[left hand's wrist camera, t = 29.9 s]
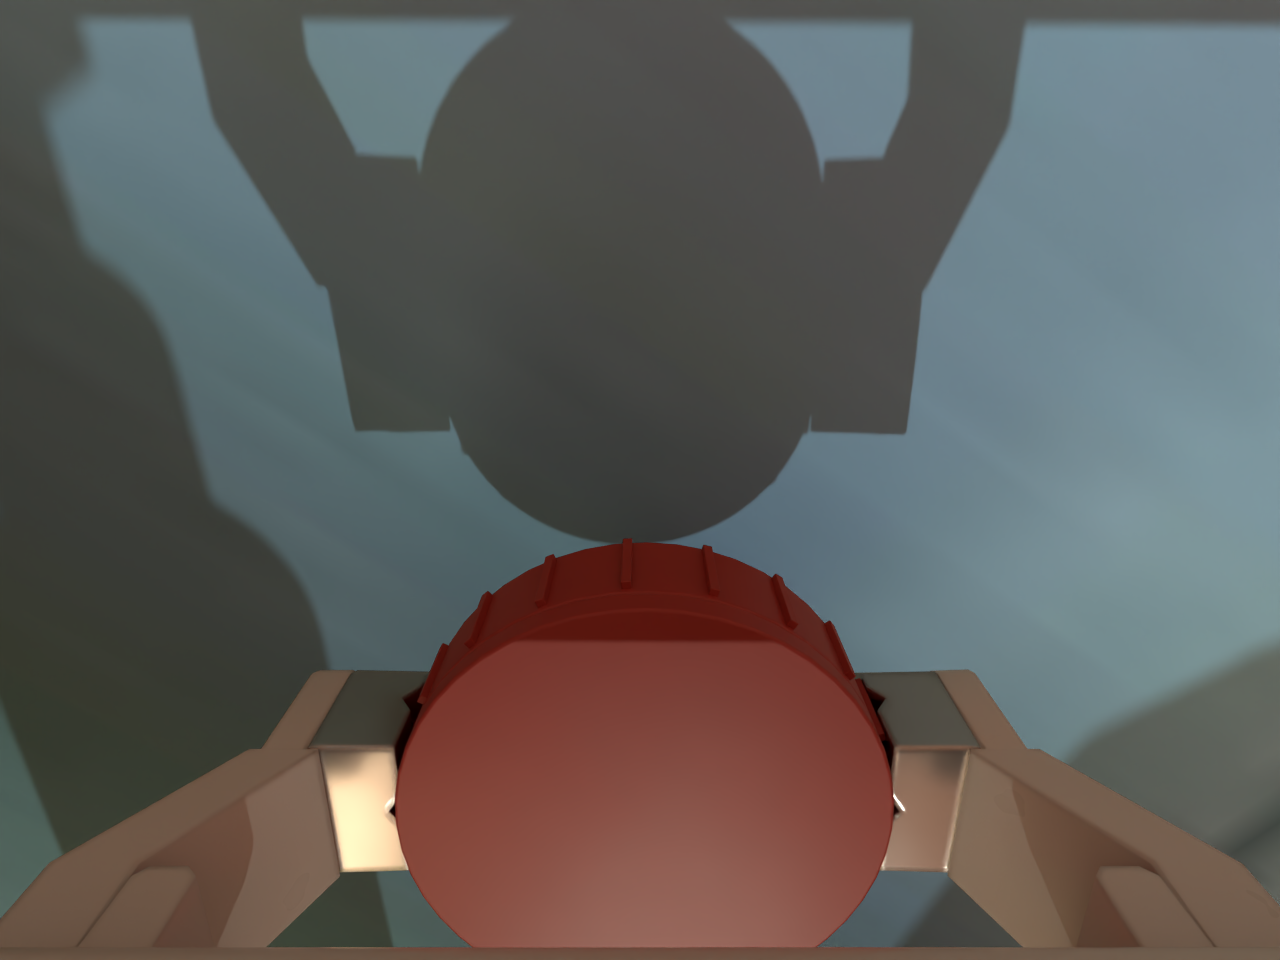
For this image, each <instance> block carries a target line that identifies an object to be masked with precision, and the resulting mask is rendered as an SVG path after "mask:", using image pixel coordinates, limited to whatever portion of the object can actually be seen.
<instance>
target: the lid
mask: <svg viewBox="0 0 1280 960" xmlns="http://www.w3.org/2000/svg"><path fill="white" fill-rule="evenodd" d="M855 677H856V675H855V673H854V671H853V668H852V666H851V664H850V661H849V659H848V657H847V654H846V652H845V650H844V647H843V645H842V643H841V641H840V638H839V636H838V634H837V631H836V629H835V627H834V625H833V624H832V622H831V621H828V622H826V623H824V622H823V621H822V620H821V619H820V618H819V617H818V615H817V614H816V613H815V612H814V611H813V610H812V609H811V608H810V607H809V605H808V604H806V603H805V602H804V601H803V600H802V599H800V598H799V597H798V596H797V595H796V594H794V593H793V592H792V591H791V590H790V589H788V588H787V587H786V586H785V584H784V581H783V578H782V577H780V576H779V575H777V574H775V575H774V576H773V577H770V576H768V575H767V574H765V573H764V572H762V571H760V570H758V569H755V568H753V567H751V566H749V565H747V564H745V563H742V562H740V561H738V560H736V559H733V558H730V557H727V556H723V555H720V554H717V553H714V552H713V550H712V547H711V546H707V545H703V547H702V549H698V548H693V547H687V546H682V545H677V544H662V543H647V542H644V543H632V538H629V539H623V544H612V545H607V546H601V547H595V548H589V549H584V550H581V551H578V552H574V553H571V554H568V555H564V556H561V557H558V558H555V556H554V554H552V555H549V556H547V557H546V558H545V562H544V564H542V565H539V566H537V567H535V568H532V569H530V570H528V571H527V572H525V573H523V574H522V575H520V576H518V577H517V578H515V579H513V580H512V581H510V582H508V583H507V584H505V585H504V586H502V587H501V588H500V589H499V590H497V591H496V592H495V593H494V594H493V595H492V594H491V593H490V592H489V591H487V592H486V593H485V594H483V595H482V597H481V600H480V602H479V605H478V608H477V609H476V610H475V611H474V612H473V613H472V614H471V616H470V617H469V618H468V619H467V620H466V621H465V622H464V623H463V625H462V626H461V628H460V629H459V631H458V632H457V634H456V635H455V636H454V638H453V639H452V641H451V642H450V644H449V646H448V645H446V644H444V643H443V644H442V645H441V647H440V649H439V651H438V654H437V656H436V658H435V661H434V663H433V665H432V668H431V670H430V672H429V675H428V677H427V679H426V682H425V684H424V686H423V688H422V691H421V693H420V695H419V698H418V700H417V702H418V703H421V704H423V705H422V708H421V710H420V712H419V715H418V717H417V720H416V722H415V723H414V725H413V729H412V732H411V734H410V736H409V739H408V741H407V744H406V746H405V749H404V753H403V756H402V759H401V763H400V766H399V770H398V775H397V783H396V791H395V815H396V827H397V831H398V836H399V841H400V845H401V850H402V853H403V855H404V858H405V861H406V863H407V866H408V868H409V871H410V874H411V876H412V877H413V879H414V881H415V883H416V884H417V886H418V888H419V890H420V891H421V893H422V895H423V897H424V898H425V899H426V900H427V902H428V903H429V904H430V906H431V907H432V908H433V910H434V911H435V912H436V913H437V915H438V916H439V917H440V918H441V919H442V920H443V921H444V922H445V923H446V924H447V925H448V926H449V927H450V928H451V929H452V930H453V931H454V932H455V933H456V934H457V935H458V936H459V937H460V938H461V939H463V940H464V941H465V942H467V943H468V944H469V945H470V946H472V947H817V946H818V945H820V944H821V943H822V942H824V941H825V940H826V939H828V938H829V937H830V936H831V935H832V934H833V933H834V932H835V931H836V930H837V929H838V928H839V927H840V926H841V925H842V924H843V923H844V922H845V921H846V920H847V919H848V918H849V917H850V916H851V914H852V913H853V912H854V911H855V909H856V908H857V907H858V906H859V904H860V903H861V902H862V901H863V899H864V898H865V896H866V894H867V893H868V891H869V889H870V888H871V886H872V884H873V883H874V881H875V879H876V878H877V875H878V873H879V870H880V868H881V865H882V863H883V861H884V858H885V856H886V853H887V849H888V844H889V840H890V836H891V832H892V827H893V813H894V793H893V783H892V774H891V770H890V767H889V763H888V759H887V756H886V752H885V749H884V746H883V744H882V742H881V741H884V740H885V733H884V731H883V728H882V726H881V724H880V722H879V719H878V717H877V715H876V712H875V710H874V708H873V706H872V703H871V701H870V699H869V697H868V694H867V692H866V690H865V687H864V685H863V683H862V681H861V679H860V678H858V679H855Z"/></svg>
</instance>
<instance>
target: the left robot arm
mask: <svg viewBox="0 0 1280 960" xmlns="http://www.w3.org/2000/svg"><path fill="white" fill-rule="evenodd" d="M428 675H429V672H422V671H374V670H357V671H354V670H319V671H317V672H314V673H312V674H311V675H310V677H309V678H308V680H307V681H306V683H305V684H304V686H303V687H302V689H301V690H300V692H299V693H298V695H297V696H296V698H295V699H294V701H293V702H292V703H291V705H290V706H289V708H288V709H287V711H286V712H285V714H284V715H283V717H282V718H281V720H280V721H279V723H278V724H277V726H276V727H275V729H274V730H273V732H272V733H271V735H270V736H269V738H268V739H267V741H266V742H265V744H264V745H263V747H262V748H261V749H248V750H247V751H245V752H243V753H241V754H240V755H238V756H236V757H234V758H232V759H231V760H229V761H227V762H225V763H224V764H222V765H220V766H218V767H217V768H215V769H213V770H211V771H210V772H208V773H206V774H204V775H203V776H201V777H199V778H197V779H196V780H194V781H192V782H190V783H189V784H187V785H185V786H183V787H182V788H180V789H178V790H176V791H174V792H173V793H171V794H169V795H167V796H166V797H164V798H162V799H160V800H159V801H157V802H155V803H153V804H152V805H150V806H148V807H146V808H145V809H143V810H141V811H139V812H138V813H136V814H134V815H132V816H131V817H129V818H127V819H125V820H124V821H122V822H120V823H118V824H117V825H115V826H113V827H111V828H109V829H108V830H106V831H104V832H102V833H101V834H99V835H97V836H95V837H94V838H92V839H90V840H88V841H87V842H85V843H83V844H81V845H80V846H78V847H76V848H74V849H73V850H71V851H69V852H67V853H66V854H64V855H62V856H60V857H59V858H57V859H55V860H53V861H52V862H50V863H49V864H48V865H47V866H46V867H45V868H44V869H43V871H42V872H41V873H40V874H39V875H38V876H37V878H36V879H35V880H34V881H33V882H32V883H31V884H30V886H29V887H28V888H27V889H26V890H25V891H24V892H23V894H22V895H21V896H20V897H19V898H18V899H17V901H16V902H15V903H14V904H13V905H12V906H11V907H10V909H9V910H8V911H7V912H6V913H5V914H4V915H3V917H2V918H1V919H0V960H1280V906H1279V905H1278V904H1277V902H1276V901H1275V900H1274V899H1273V898H1272V897H1271V896H1270V894H1269V893H1268V892H1267V891H1266V890H1265V889H1264V888H1263V886H1262V885H1261V884H1260V883H1259V882H1258V881H1257V880H1256V879H1255V877H1254V876H1253V875H1252V874H1251V873H1250V872H1249V871H1248V869H1247V868H1246V867H1245V866H1244V865H1243V864H1242V863H1240V862H1238V861H1237V860H1235V859H1233V858H1231V857H1229V856H1228V855H1226V854H1224V853H1222V852H1221V851H1219V850H1217V849H1215V848H1214V847H1212V846H1210V845H1208V844H1206V843H1205V842H1203V841H1201V840H1199V839H1198V838H1196V837H1194V836H1192V835H1191V834H1189V833H1187V832H1185V831H1184V830H1182V829H1180V828H1178V827H1176V826H1175V825H1173V824H1171V823H1169V822H1168V821H1166V820H1164V819H1162V818H1161V817H1159V816H1157V815H1155V814H1153V813H1152V812H1150V811H1148V810H1146V809H1145V808H1143V807H1141V806H1139V805H1138V804H1136V803H1134V802H1132V801H1130V800H1129V799H1127V798H1125V797H1123V796H1122V795H1120V794H1118V793H1116V792H1115V791H1113V790H1111V789H1109V788H1107V787H1106V786H1104V785H1102V784H1100V783H1099V782H1097V781H1095V780H1093V779H1092V778H1090V777H1088V776H1086V775H1084V774H1083V773H1081V772H1079V771H1077V770H1076V769H1074V768H1072V767H1070V766H1069V765H1067V764H1065V763H1063V762H1061V761H1060V760H1058V759H1056V758H1054V757H1053V756H1051V755H1049V754H1047V753H1046V752H1044V751H1042V750H1040V749H1027V748H1026V746H1025V745H1024V743H1023V742H1022V740H1021V739H1020V737H1019V736H1018V735H1017V733H1016V732H1015V730H1014V729H1013V727H1012V726H1011V724H1010V723H1009V722H1008V720H1007V719H1006V717H1005V716H1004V714H1003V713H1002V711H1001V710H1000V709H999V707H998V706H997V704H996V703H995V701H994V700H993V698H992V697H991V696H990V694H989V693H988V691H987V690H986V688H985V687H984V686H983V684H982V683H981V681H980V680H979V678H978V677H977V675H976V674H975V673H974V672H972V671H970V670H968V669H966V670H937V671H926V672H868V673H855V675H856V677H855V679H858V678H860V679H861V681H862V683H863V685H864V687H865V690H866V692H867V694H868V697H869V699H870V701H871V703H872V706H873V708H874V710H875V712H876V715H877V717H878V719H879V722H880V724H881V726H882V728H883V731H884V733H885V740H884V741H881V742H882V744H883V746H884V749H885V752H886V756H887V759H888V763H889V767H890V770H891V774H892V783H893V793H894V813H893V827H892V832H891V836H890V840H889V844H888V849H887V853H886V856H885V858H884V861H883V863H882V865H881V868H880V870H887V871H922V872H948V876H949V877H950V878H951V879H952V880H953V881H954V882H955V883H956V884H957V885H958V886H959V887H960V888H961V889H962V890H963V891H964V892H966V893H967V894H968V895H969V896H970V897H971V898H972V899H973V900H974V901H975V902H976V903H977V904H978V905H979V906H980V907H981V908H982V909H983V910H984V911H985V912H987V913H988V914H989V915H990V916H991V917H992V918H993V919H994V920H995V921H996V922H997V923H998V924H999V925H1000V926H1001V927H1002V928H1003V929H1004V930H1005V931H1007V932H1008V933H1009V934H1010V935H1011V936H1012V937H1013V938H1014V939H1015V940H1016V941H1017V942H1018V943H1019V944H1020V945H1021V946H1022V947H267V946H268V945H269V944H270V943H271V942H272V941H273V940H274V939H275V938H276V937H277V936H278V935H279V934H280V933H281V932H282V931H283V930H284V929H285V928H287V927H288V926H289V925H290V924H291V923H292V922H293V921H294V920H295V919H296V918H297V917H298V916H299V915H300V914H301V913H302V912H303V911H304V910H305V909H306V908H307V907H308V906H309V905H311V904H312V903H313V902H314V901H315V900H316V899H317V898H318V897H319V896H320V895H321V894H322V893H323V892H324V891H325V890H326V889H327V888H328V887H329V886H330V885H331V884H332V883H333V882H335V881H336V880H337V879H338V878H339V877H340V872H365V871H399V870H409V868H408V866H407V863H406V861H405V858H404V855H403V853H402V850H401V845H400V841H399V836H398V831H397V827H396V815H395V791H396V783H397V775H398V770H399V766H400V763H401V759H402V756H403V753H404V749H405V746H406V744H407V741H408V739H409V736H410V734H411V732H412V729H413V725H414V723H415V722H416V720H417V717H418V715H419V712H420V710H421V708H422V705H423V704H421V703H418V702H417V700H418V698H419V695H420V693H421V691H422V688H423V686H424V684H425V682H426V679H427V677H428Z"/></svg>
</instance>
